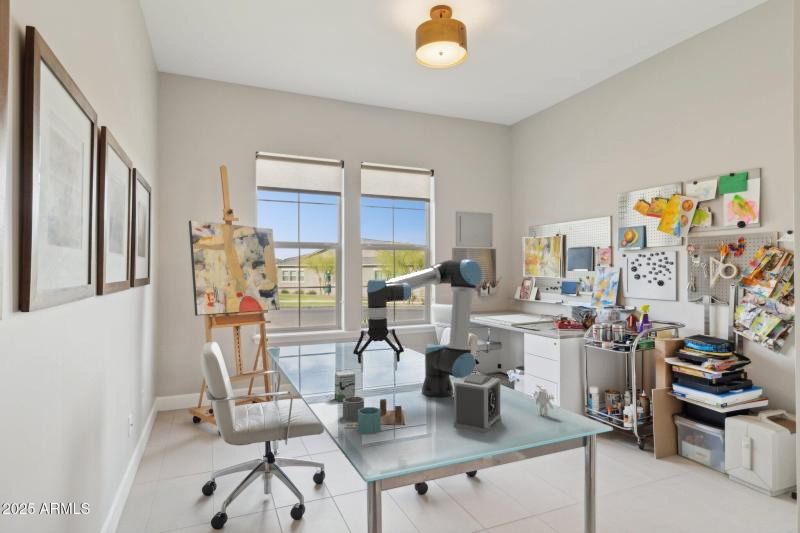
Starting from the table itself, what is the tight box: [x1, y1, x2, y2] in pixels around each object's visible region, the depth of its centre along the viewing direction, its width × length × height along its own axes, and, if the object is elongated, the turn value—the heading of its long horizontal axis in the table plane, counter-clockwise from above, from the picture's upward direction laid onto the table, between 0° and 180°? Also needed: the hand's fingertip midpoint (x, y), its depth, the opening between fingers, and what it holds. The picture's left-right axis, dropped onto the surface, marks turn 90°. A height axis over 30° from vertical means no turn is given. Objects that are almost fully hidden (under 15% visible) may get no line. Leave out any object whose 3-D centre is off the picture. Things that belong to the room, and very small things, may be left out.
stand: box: [379, 398, 406, 426], centre depth 172 cm, size 11×16×6 cm
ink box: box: [334, 371, 356, 402], centre depth 198 cm, size 9×5×12 cm, turn 117°
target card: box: [343, 422, 358, 429], centre depth 163 cm, size 7×5×1 cm
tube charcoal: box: [342, 396, 365, 422], centre depth 173 cm, size 8×8×7 cm
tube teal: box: [357, 406, 382, 435], centre depth 159 cm, size 8×8×7 cm
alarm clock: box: [452, 373, 502, 434], centre depth 166 cm, size 18×13×18 cm
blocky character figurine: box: [533, 384, 555, 417], centre depth 175 cm, size 9×4×12 cm, turn 37°
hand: (379, 370), depth 171 cm, fingers open, 13 cm apart
